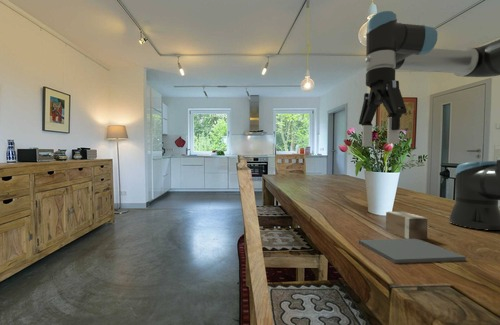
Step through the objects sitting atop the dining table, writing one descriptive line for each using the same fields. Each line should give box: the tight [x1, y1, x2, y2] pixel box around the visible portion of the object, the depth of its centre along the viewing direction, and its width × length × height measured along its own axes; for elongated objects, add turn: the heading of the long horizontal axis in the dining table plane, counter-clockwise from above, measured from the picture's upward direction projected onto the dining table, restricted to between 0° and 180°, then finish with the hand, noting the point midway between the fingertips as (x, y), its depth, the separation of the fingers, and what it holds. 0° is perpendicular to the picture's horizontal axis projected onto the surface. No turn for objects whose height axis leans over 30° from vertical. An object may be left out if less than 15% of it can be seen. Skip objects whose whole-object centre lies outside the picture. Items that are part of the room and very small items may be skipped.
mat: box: [358, 238, 467, 264], centre depth 64 cm, size 18×14×1 cm
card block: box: [385, 211, 429, 240], centre depth 80 cm, size 6×10×6 cm, turn 8°
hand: (378, 145), depth 73 cm, fingers open, 13 cm apart
